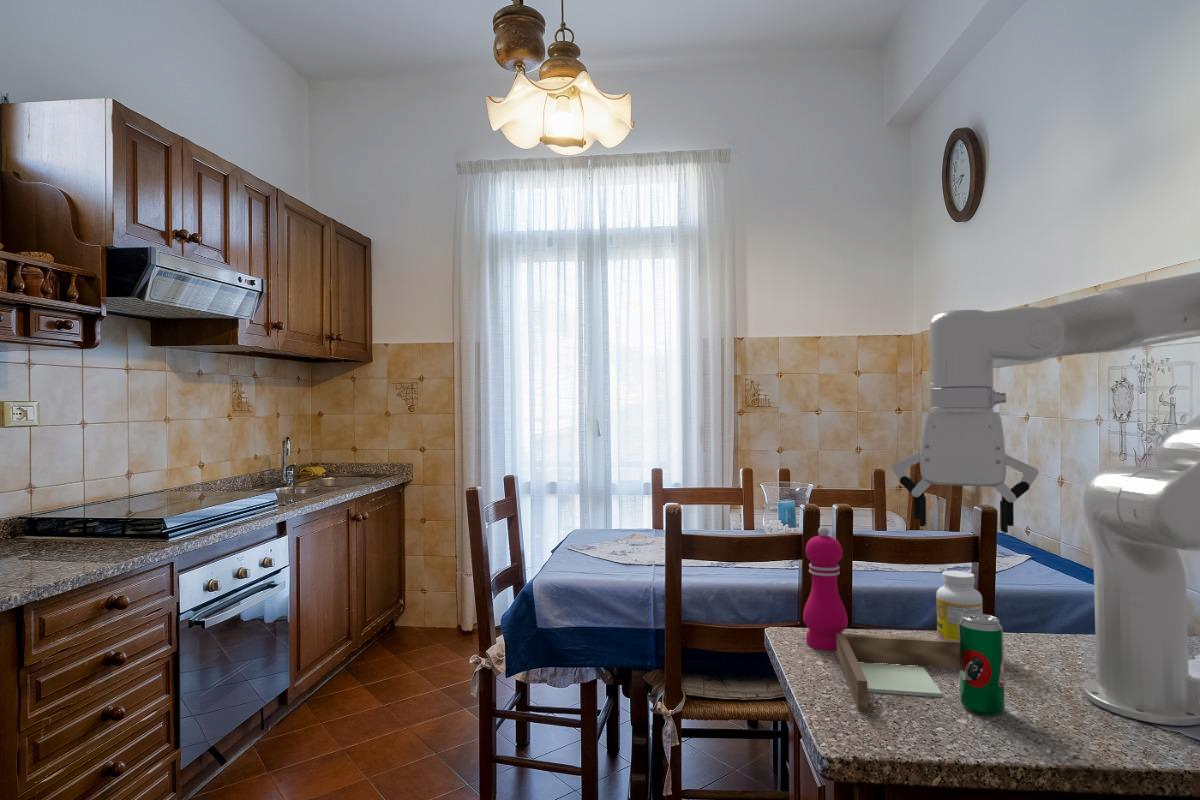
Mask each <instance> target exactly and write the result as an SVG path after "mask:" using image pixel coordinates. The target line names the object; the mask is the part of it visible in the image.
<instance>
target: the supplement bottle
mask: <svg viewBox="0 0 1200 800" xmlns="http://www.w3.org/2000/svg"><path fill="white" fill-rule="evenodd" d="M941 574H942V575H941V577H942V578H941V579H942V581H943V586H940V587H939V588H938V589H937V591H936V593H935V594H936V595H935V597H936V598H935V599H936V628H937V629H936V631H937V633H936V634H937V636H936V637H937V638H936V639H950V640H959V622H960V620H961V619H962V615H963V614H966V613H979V614H984V613H983V611H984V610H983V596H982V594H981V592H980V591H978V590H977V589H975V587H974V585H975V583H976V580H975V579H976V578H975V574H974V573H971V572H969V571H963V570H944V571H942V573H941Z"/></svg>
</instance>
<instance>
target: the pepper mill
mask: <svg viewBox="0 0 1200 800" xmlns="http://www.w3.org/2000/svg"><path fill="white" fill-rule="evenodd" d="M817 532H818V535H816V536H813V537H811V538H810V539H809V540H808V541H807V542H806V545H805V555H806V557H807V559H808V560H809V562H810V563H809V564H808V566H809V570H808V572H809V573H810V574H811V590H810V593H809V596H808V598H807V601H806V603H805V605H804V608H803V611H802V612H803V614H802V620H803V622H804V624H805V626H806V627H807V628H808V630H807V631H806V633H805V635H806V638H805V639H806V644H807V645H808V646H809V647H811V648H812V649H816V650H820V651H825V652H826V651H827V652H832V651H833V652H834V651H836V650H837V642H836V633H839V634H843V632H844V631H845V630H846V628H847V627H848V623H849V621H848V613H847V611H846V608H845V606H844V603H843V601H842V599H841V595H840V594H839V589H838V576H839V575H840V574H841V572H840V565H839V564H838V563H839V562H840V561H841V560H842V558H843V553H844V552H843V547H842V545H841V543H840V541H839V540H838V539H836V538H834V537H832V536H829V534H830V530H829V528H828V527H826V526H820V527H819V528H818V530H817ZM836 652H837V651H836Z"/></svg>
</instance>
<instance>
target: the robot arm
mask: <svg viewBox="0 0 1200 800" xmlns="http://www.w3.org/2000/svg"><path fill="white" fill-rule="evenodd" d="M1195 337H1200V271H1198V272H1192V273H1186V274H1182V275H1181V274H1180V275H1177V276H1171V277H1165V278H1160V279H1157V280H1156V279H1155V280H1150V281H1145V282H1139V283H1133V284H1127V285H1122V286H1117V287H1112V288H1109V289H1106V290H1101V291H1098V292H1094V293H1092V294H1091V293H1090V294H1087V295H1084V296H1081V297H1079V298H1075V299H1072V300H1068V301H1065V302H1061V303H1056V304H1053V305H1049V306H1044V307H1039V306H1024V307H1017V308H1009V309H1001V310H991V311H986V310H980V309H958V310H957V309H956V310H949V311H943V312H939V313H938V314H936V315H934V316H933V317H932V318H931V320H930V324H929V350H930V351H929V352H930V353H929V354H930V355H929V357H930V358H929V360H930V361H929V362H930V364H929V365H930V367H929V368H930V372H929V373H930V398H929V399H930V411H927V412H926V411H925V412H924V416H923V421H922V427H921V434H920V435H921V437H920V451H919V452H917V453H914V454H912V455H910V456H908V457H905V458H903V459H901V460H898V461H896V462H894V463H893V464H892V466H891V468H892V470H893V472H894V473H895V476H896V477H897V479H898V480H899V483H900V485H902V486H903V487H904V488H905V489H906V490H907V491H908V492H909V494H911V495H912V496H913V511H914V512H913V517H914V518H913V519H914V520H919V527H926V524H927V496H926V495H925V491H926V490H927V489H928V488H929V487H930V486H931V485H942V486H943V485H946V486H960V487H961V486H962V487H989V488H990V487H991V488H994V489H995V490H996V491H997V492H998V493H999V494H1000V495H1001V500H999V527H1000V528H999V529H1000V531H1001V532H1002V533H1005V534H1008V532H1009V527H1014V526H1015V525H1014V523H1015V522H1014V521H1015V520H1014V502H1016V500H1017V499H1019V498H1020V497H1022V496H1023V495H1024V494H1025V493H1026V492H1027V491H1029V490H1030V487H1031V486H1032V484H1033V483H1034V481H1035V480H1036V478H1037V477H1038V474H1039V470H1038V469H1037V468H1036V467H1034V466H1032V465H1030V464H1027V463H1025V462H1024V461H1021V460H1020V459H1017V458H1015V457H1012V456H1010V455H1008V454H1006V446H1005V445H1006V444H1005V436H1004V430H1003V429H1004V427H1003V421H1002V417H1001V414H1000V412H999V411H998V412H997V411H995V412H994V406H996V405H997V404H998V405H1000V404H1006V403H1007V393H1006V392H1000V391H996V390H994V369H1000V368H1007V367H1014V366H1024V365H1030V364H1036V363H1040V362H1043V361H1046V360H1048V359H1053V358H1054V359H1055V358H1058V357H1059V358H1060V357H1066V356H1074V355H1084V354H1087V355H1088V354H1101V353H1110V352H1116V351H1117V352H1118V351H1122V350H1129V349H1130V350H1131V349H1135V348H1137V349H1138V348H1142V347H1145V346H1146V347H1147V346H1151V345H1156V344H1162V343H1168V342H1173V341H1174V342H1175V341H1179V340H1184V339H1185V340H1186V339H1191V338H1195ZM1155 462H1156V466H1157V468H1156V467H1147V466H1145V467H1144V466H1135V465H1121V466H1114V467H1110V468H1107V469H1104V470H1101V471H1100V472H1098V473H1097V474H1095V475H1094V476H1093V477H1092V478H1091V479H1090V480H1089V481H1088V483H1087V485H1086V487H1085V489H1084V492H1083V497H1082V498H1083V502H1082V503H1083V505H1082V507H1083V512H1084V515H1085V516H1084V517H1085V521H1086V524H1087V529H1088V533H1089V537H1090V542H1091V549H1092V560H1093V580H1094V581H1093V595H1094V622H1095V623H1094V625H1095V654H1096V656H1095V657H1096V658H1095V660H1096V661H1095V663H1096V678H1093V679H1092V678H1091V679H1089V680H1087V681H1085V682H1084V684H1083V685H1082V687H1083V694H1084V697H1085V698H1086V699H1088V701H1090V702H1091V703H1093V704H1094V705H1095V706H1098V707H1100V708H1103V709H1104V710H1106V711H1109V712H1112V713H1113V714H1114V713H1115V714H1116V715H1119V716H1123V717H1126V718H1130V719H1134V720H1136V721H1143V722H1146V723H1151V724H1156V725H1157V724H1158V725H1165V726H1173V727H1175V726H1177V727H1178V726H1180V727H1181V726H1182V727H1185V726H1186V727H1187V726H1195V725H1196V726H1197V725H1200V677H1193V676H1191V675H1190V673H1189V672H1190V671H1189V669H1190V668H1189V645H1188V644H1189V643H1188V640H1189V639H1188V638H1189V637H1188V614H1187V613H1188V608H1187V578H1186V573H1185V569H1184V568H1185V567H1184V564H1183V561H1182V559H1181V555H1180V553H1179V551H1178V549H1179V550H1182V551H1187V552H1188V551H1189V552H1200V414H1198V415H1197V416H1196V417H1194V418H1192V419H1191V420H1190V421H1188V422H1187V423H1186V422H1185V424H1184V425H1181V426H1180V427H1179V428H1177V429H1176V430H1175V431H1173V432H1172V433H1171V434H1169V435H1168V436H1167V437H1166V438H1165V439H1164V440H1163V441H1162V442H1161V444H1160V445H1159V446H1158V449H1157V452H1156V455H1155ZM918 463H919V471H920V477H921V479H920V481H919V482H918V483H917V484H916V482H914V480H913V479H912V478H910V477H909V475H908V474H907V472H906V469H907V468H909V467H911V466H914V465H916V464H918ZM1007 466H1008V467H1010V468H1012V469H1014V470H1016V471H1018V472H1021V473H1022V476H1021V479H1020V480H1019V482H1017V483H1016V484H1015V485H1014V486H1012V487H1011V488H1010V487H1008V485H1007V484H1006V483H1005V482H1006V475H1007Z"/></svg>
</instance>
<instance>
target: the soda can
mask: <svg viewBox="0 0 1200 800" xmlns="http://www.w3.org/2000/svg"><path fill="white" fill-rule="evenodd" d="M1003 629H1004V628H1003V627H1002V625H1001V624H1000V619H999V618H998V617H995V616H993V615H989V614H986V613H983V614H979V613H966V614H963V615H962V619H961V620H960V622H959V658H960V669H959V684H960V685H959V688H960V690H959V691H960V692H959V693H960V694H959V695H960V696H959V697H960V703H961V704H962V706H963V707H964V708H965V709H966V710H967V711H969V712H971V713H974V714H976V715H980V716H985V717H996V716H1000V715H1001V714H1002V713H1004V712H1005V709H1006V703H1005V701H1006V700H1005V699H1006V698H1005V697H1006V696H1005V695H1006V694H1005V669H1004V667H1005V664H1004V662H1005V661H1004V659H1005V658H1004V631H1003Z"/></svg>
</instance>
